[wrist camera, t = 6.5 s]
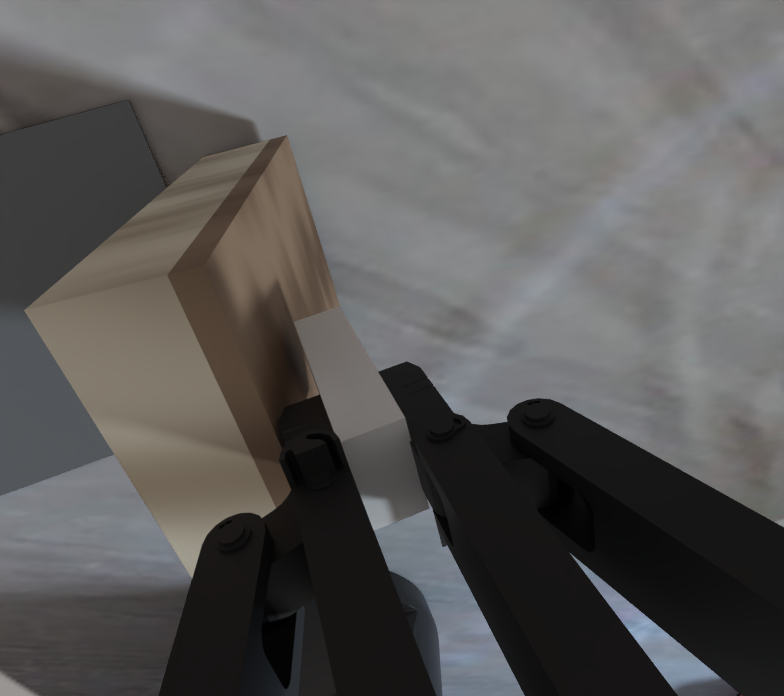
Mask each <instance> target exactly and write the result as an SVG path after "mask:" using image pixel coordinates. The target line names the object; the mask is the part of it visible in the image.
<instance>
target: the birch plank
mask: <svg viewBox="0 0 784 696" xmlns="http://www.w3.org/2000/svg"><path fill="white" fill-rule="evenodd" d="M339 306H340V304H339V301H338V298H337V295H336V291H335V288H334V285H333V282H332V279H331V275H330V272H329V269H328V266H327V263H326V259H325V256H324V253H323V250H322V246H321V243H320V240H319V237H318V234H317V230H316V227H315V224H314V221H313V217H312V214H311V211H310V208H309V205H308V201H307V198H306V195H305V192H304V189H303V185H302V182H301V179H300V176H299V172H298V169H297V166H296V163H295V160H294V156H293V153H292V150H291V147H290V143H289V140H288V137H287V135H286V136H282V137H278V138H275V139H271V140H267V141H263V142H259V143H255V144H251V145H248V146H244V147H240V148H236V149H232V150H228V151H224V152H221V153H217V154H213V155H209V156H205V157H202V158H201V159H200V160H199V161H198V162H196V163H195V164H194V165H193V166H192V167H191V168H189V169H188V170H187V171H186V172H185V173H184V174H182V175H181V176H180V177H179V178H178V179H177V180H175V181H174V182H173V183H172V184H171V185H170V186H168V187H167V188H166V189H165V190H164V191H163V192H161V193H160V194H159V195H158V196H157V197H156V198H154V199H153V200H152V201H151V202H150V203H149V204H147V205H146V206H145V207H144V208H143V209H142V210H140V211H139V212H138V213H137V214H136V215H135V216H133V217H132V218H131V219H130V220H129V221H128V222H126V223H125V224H124V225H123V226H122V227H121V228H119V229H118V230H117V231H116V232H115V233H114V234H112V235H111V236H110V237H109V238H108V239H107V240H105V241H104V242H103V243H102V244H101V245H100V246H98V247H97V248H96V249H95V250H94V251H93V252H91V253H90V254H89V255H88V256H87V257H86V258H84V259H83V260H82V261H81V262H80V263H79V264H77V265H76V266H75V267H74V268H73V269H72V270H70V271H69V272H68V273H67V274H66V275H65V276H63V277H62V278H61V279H60V280H59V281H58V282H56V283H55V284H54V285H53V286H52V287H51V288H49V289H48V290H47V291H46V292H45V293H44V294H42V295H41V296H40V297H39V298H38V299H37V300H35V301H34V302H33V303H32V304H31V305H30V306H28V307H27V308H26V309H25V310H24V311H25V313H26V314H27V316H28V317H29V319H30V321H31V322H32V324H33V325H34V327H35V329H36V330H37V332H38V333H39V335H40V337H41V338H42V340H43V341H44V343H45V345H46V346H47V348H48V349H49V351H50V353H51V354H52V356H53V357H54V359H55V360H56V362H57V364H58V365H59V367H60V368H61V370H62V372H63V373H64V375H65V376H66V378H67V380H68V381H69V383H70V384H71V386H72V388H73V389H74V391H75V392H76V394H77V396H78V397H79V399H80V400H81V402H82V404H83V405H84V407H85V408H86V410H87V412H88V413H89V415H90V416H91V418H92V420H93V421H94V423H95V424H96V426H97V428H98V429H99V431H100V432H101V434H102V436H103V437H104V439H105V440H106V442H107V444H108V445H109V447H110V448H111V450H112V452H113V453H114V455H115V456H116V458H117V460H118V461H119V463H120V464H121V466H122V468H123V469H124V471H125V472H126V474H127V476H128V477H129V479H130V480H131V482H132V484H133V485H134V487H135V488H136V490H137V491H138V493H139V495H140V496H141V498H142V499H143V501H144V503H145V504H146V506H147V507H148V509H149V511H150V512H151V514H152V515H153V517H154V519H155V520H156V522H157V523H158V525H159V527H160V528H161V530H162V531H163V533H164V535H165V536H166V538H167V539H168V541H169V543H170V544H171V546H172V547H173V549H174V551H175V552H176V554H177V555H178V557H179V559H180V560H181V562H182V563H183V565H184V567H185V568H186V570H187V571H188V573H189V575H190V576H191V578H193V574H194V571H195V567H196V564H197V560H198V557H199V553H200V550H201V546H202V544H203V542H204V540H205V538H206V536H207V534H208V533H209V532H210V531H211V530H212V529H213V528H214V527H215V525H217V524H218V523H220V522H221V521H223V520H224V519H226V518H227V517H230V516H233V515H236V514H239V513H250V512H251V513H254V514H257V515H259V516H260V517H261V518H263V517H264V516H266V515H267V514H269V513H270V512H272V511H273V510H274V509H276V508H277V507H278V506H279V505H281V504H282V502H283V501H284V500H285V499H286V498H287V496H288V495H289V493H290V491H291V488H290V486H289V483H288V481H287V479H286V476H285V474H284V471H283V469H282V467H281V464H280V462H279V458H280V452H281V451H282V449H283V448H284V446H285V442H284V438H283V433H282V430H281V425H280V421H279V420H280V417H281V415H282V412H283V410H284V407H286V406H289V405H292V404H295V403H297V402H300V401H303V400H306V399H308V398H311V397H314V396H317V395H319V393H318V390H317V387H316V384H315V381H314V378H313V376H312V373H311V370H310V367H309V364H308V361H307V358H306V356H305V353H304V350H303V347H302V344H301V341H300V339H299V336H298V333H297V330H296V327H295V324H294V322H295V321H298V320H301V319H304V318H307V317H310V316H313V315H316V314H319V313H321V312H324V311H327V310H330V309H333V308H336V307H339Z"/></svg>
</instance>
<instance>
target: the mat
mask: <svg viewBox="0 0 784 696" xmlns="http://www.w3.org/2000/svg"><path fill="white" fill-rule="evenodd" d="M166 188H167V187H166V185H165V182H164V180H163V178H162V175H161V173H160V171H159V168H158V166H157V164H156V162H155V159H154V157H153V155H152V152H151V150H150V148H149V145H148V143H147V141H146V138H145V136H144V134H143V131H142V129H141V127H140V124H139V122H138V120H137V117H136V115H135V113H134V111H133V108H132V106H131V104H130V101H129V100H126V101H122V102H119V103H115V104H112V105H108V106H104V107H101V108H97V109H93V110H90V111H86V112H82V113H79V114H75V115H71V116H68V117H64V118H60V119H57V120H53V121H50V122H46V123H42V124H39V125H35V126H31V127H28V128H24V129H20V130H17V131H13V132H9V133H6V134H2V135H0V496H1V495H4V494H6V493H9V492H12V491H15V490H17V489H20V488H23V487H26V486H28V485H31V484H34V483H37V482H39V481H42V480H45V479H48V478H50V477H53V476H56V475H58V474H61V473H64V472H67V471H69V470H72V469H75V468H78V467H80V466H83V465H86V464H89V463H91V462H94V461H97V460H100V459H102V458H105V457H108V456H111V455H113V454H114V453H113V452H112V450H111V448H110V447H109V445H108V444H107V442H106V440H105V439H104V437H103V436H102V434H101V432H100V431H99V429H98V428H97V426H96V424H95V423H94V421H93V420H92V418H91V416H90V415H89V413H88V412H87V410H86V408H85V407H84V405H83V404H82V402H81V400H80V399H79V397H78V396H77V394H76V392H75V391H74V389H73V388H72V386H71V384H70V383H69V381H68V380H67V378H66V376H65V375H64V373H63V372H62V370H61V368H60V367H59V365H58V364H57V362H56V360H55V359H54V357H53V356H52V354H51V353H50V351H49V349H48V348H47V346H46V345H45V343H44V341H43V340H42V338H41V337H40V335H39V333H38V332H37V330H36V329H35V327H34V325H33V324H32V322H31V321H30V319H29V317H28V316H27V314H26V313H25V311H24V310H25V309H26V308H27V307H28V306H30V305H31V304H32V303H33V302H34V301H35V300H37V299H38V298H39V297H40V296H41V295H42V294H44V293H45V292H46V291H47V290H48V289H49V288H51V287H52V286H53V285H54V284H55V283H56V282H58V281H59V280H60V279H61V278H62V277H63V276H65V275H66V274H67V273H68V272H69V271H70V270H72V269H73V268H74V267H75V266H76V265H77V264H79V263H80V262H81V261H82V260H83V259H84V258H86V257H87V256H88V255H89V254H90V253H91V252H93V251H94V250H95V249H96V248H97V247H98V246H100V245H101V244H102V243H103V242H104V241H105V240H107V239H108V238H109V237H110V236H111V235H112V234H114V233H115V232H116V231H117V230H118V229H119V228H121V227H122V226H123V225H124V224H125V223H126V222H128V221H129V220H130V219H131V218H132V217H133V216H135V215H136V214H137V213H138V212H139V211H140V210H142V209H143V208H144V207H145V206H146V205H147V204H149V203H150V202H151V201H152V200H153V199H154V198H156V197H157V196H158V195H159V194H160V193H161V192H163V191H164V190H165V189H166Z"/></svg>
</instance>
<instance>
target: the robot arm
mask: <svg viewBox="0 0 784 696" xmlns="http://www.w3.org/2000/svg"><path fill="white" fill-rule="evenodd" d="M294 324H295V327H296V330H297V333H298V336H299V339H300V341H301V344H302V347H303V350H304V353H305V356H306V358H307V361H308V364H309V367H310V370H311V373H312V376H313V378H314V381H315V384H316V387H317V390H318V393H319V395H317V396H314V397H311V398H308V399H306V400H303V401H300V402H297V403H295V404H292V405H289V406H286V407H284V410H283V412H282V415H281V417H280V420H279V421H280V425H281V430H282V433H283V438H284V442H285V446H284V448H283V449H282V451H281V452H280V458H279V462H280V464H281V467H282V469H283V471H284V474H285V476H286V479H287V481H288V483H289V486H290V488H291V491H290V493H289V495H288V496H287V498H286V499H285V500H284V501H283V502H282V504H281V505H279V506H278V507H277V508H276V509H274V510H273V511H272V512H270V513H269V514H267V515H266V516H264V517H263V518H261V517H260V516H259V515H257V514H254V513H251V512H250V513H239V514H236V515H233V516H230V517H227V518H226V519H224V520H223V521H221V522H220V523H218V524H217V525H215V527H214V528H213V529H212V530H211V531H210V532H209V533H208V534H207V536H206V538H205V540H204V542H203V544H202V546H201V550H200V553H199V557H198V560H197V564H196V567H195V571H194V574H193V578H192V581H191V585H190V588H189V592H188V595H187V599H186V602H185V606H184V609H183V612H182V616H181V619H180V623H179V626H178V630H177V633H176V637H175V640H174V644H173V647H172V651H171V654H170V658H169V661H168V665H167V668H166V672H165V675H164V678H163V682H162V685H161V689H160V692H159V696H442V683H441V668H440V653H439V639H438V632H437V628H436V624H435V621H434V619H433V616H432V614H431V612H430V609H429V607H428V605H427V602H426V600H425V598H424V596H423V594H422V593H421V591H420V590H419V589H418V588H417V587H416V586H415V585H414V584H413V583H411V582H410V581H409V580H407V579H405V578H403V577H401V576H399V575H397V574H394V573H391V572H389V570H388V567H387V564H386V562H385V559H384V556H383V554H382V551H381V549H380V546H379V543H378V541H377V538H376V535H375V533H374V531H375V530H377V529H380V528H382V527H385V526H387V525H390V524H392V523H395V522H397V521H400V520H402V519H404V518H407V517H409V516H412V515H414V514H417V513H419V512H422V511H424V510H427V509H429V505H428V502H427V499H428V501H429V503H430V504H431V506H432V508H433V512H434V516H435V520H436V524H437V527H438V531H439V535H440V539H441V543H442V546H443V547H444V546H447V545H448V547H449V549H450V551H451V553H452V555H453V557H454V559H455V561H456V563H457V565H458V567H459V569H460V571H461V573H462V574H463V576H464V578H465V580H466V582H467V584H468V586H469V588H470V590H471V592H472V594H473V596H474V598H475V600H476V602H477V604H478V606H479V607H480V609H481V611H482V613H483V615H484V617H485V619H486V621H487V623H488V625H489V627H490V629H491V631H492V633H493V635H494V637H495V639H496V641H497V642H498V644H499V646H500V648H501V650H502V652H503V654H504V656H505V658H506V660H507V662H508V664H509V666H510V668H511V670H512V672H513V674H514V675H515V677H516V679H517V681H518V683H519V685H520V687H521V689H522V691H523V693H524V695H525V696H678V695H677V694H676V693H675V691H674V690H673V689H672V687H671V686H670V685H669V684H668V682H667V681H666V680H665V678H664V677H663V676H662V674H661V673H660V672H659V670H658V669H657V668H656V666H655V665H654V664H653V662H652V661H651V660H650V658H649V657H648V656H647V654H646V653H645V652H644V651H643V649H642V648H641V647H640V645H639V644H638V643H637V641H636V640H635V639H634V637H633V636H632V635H631V633H630V632H629V631H628V629H627V628H626V627H625V625H624V624H623V623H622V622H621V620H620V619H619V618H618V616H617V615H616V614H615V612H614V611H613V610H612V608H611V607H610V606H609V604H608V603H607V602H606V600H605V599H604V598H603V596H602V595H601V594H600V593H599V591H598V590H597V589H596V587H595V586H594V585H593V583H592V582H591V581H590V579H589V578H588V577H587V575H586V574H585V573H584V571H583V570H582V569H581V567H580V566H579V565H578V563H577V562H576V561H575V560H574V558H573V557H572V556H571V554H572V555H573V556H574V557H576V558H577V559H578V560H579V561H581V562H582V563H583V564H584V565H585V566H587V567H588V568H589V569H590V570H591V571H593V572H594V573H595V574H596V575H597V576H599V577H600V578H601V579H602V580H604V581H605V582H606V583H607V584H608V585H610V586H611V587H612V588H613V589H614V590H616V591H617V592H618V593H619V594H620V595H622V596H623V597H624V598H625V599H626V600H628V601H629V602H630V603H631V604H633V605H634V606H635V607H636V608H637V609H639V610H640V611H641V612H642V613H643V614H645V615H646V616H647V617H648V618H649V619H651V620H652V621H653V622H654V623H656V624H657V625H658V626H659V627H660V628H662V629H663V630H664V631H665V632H666V633H668V634H669V635H670V636H671V637H672V638H674V639H675V640H676V641H677V642H678V643H680V644H681V645H682V646H683V647H685V648H686V649H687V650H688V651H689V652H691V653H692V654H693V655H694V656H695V657H697V658H698V659H699V660H700V661H701V662H703V663H704V664H705V665H706V666H708V667H709V668H710V669H711V670H712V671H714V672H715V673H716V674H717V675H718V676H720V677H721V678H722V679H723V680H724V681H726V682H727V683H728V684H729V685H731V686H732V687H733V688H734V689H735V690H737V691H738V692H739V693H740V694H741V695H743V696H784V527H782V526H780V525H778V524H777V523H775V522H773V521H771V520H769V519H768V518H766V517H764V516H762V515H760V514H759V513H757V512H755V511H753V510H751V509H750V508H748V507H746V506H744V505H742V504H741V503H739V502H737V501H735V500H733V499H732V498H730V497H728V496H726V495H724V494H723V493H721V492H719V491H717V490H715V489H714V488H712V487H710V486H708V485H707V484H705V483H703V482H701V481H699V480H698V479H696V478H694V477H692V476H690V475H689V474H687V473H685V472H683V471H681V470H680V469H678V468H676V467H674V466H672V465H671V464H669V463H667V462H665V461H663V460H662V459H660V458H658V457H656V456H654V455H653V454H651V453H649V452H647V451H645V450H644V449H642V448H640V447H638V446H636V445H635V444H633V443H631V442H629V441H627V440H626V439H624V438H622V437H620V436H618V435H617V434H615V433H613V432H611V431H610V430H608V429H606V428H604V427H602V426H601V425H599V424H597V423H595V422H593V421H592V420H590V419H588V418H586V417H584V416H583V415H581V414H579V413H577V412H575V411H574V410H572V409H570V408H568V407H566V406H565V405H563V404H561V403H559V402H556V401H553V400H551V399H540V398H538V399H531V400H526V401H524V402H521V403H519V404H517V405H516V406H514V407H513V408H512V409H511V410H510V412H509V414H508V416H507V421H508V422H503V423H497V424H488V425H477V424H471V422H470V421H469V420H468V419H466V418H465V417H464V416H462V415H458V414H455V413H453V411H452V410H451V409H450V407H449V406H448V404H447V403H446V402H445V400H444V399H443V398H442V396H441V395H440V394H439V392H438V391H437V390H436V388H435V387H434V386H433V384H432V383H431V381H430V380H429V379H428V378H427V376H426V375H425V373H424V372H423V371H422V369H421V368H420V367H418V366H416V365H414V364H411V363H409V362H404V363H401V364H399V365H396V366H393V367H390V368H387V369H385V370H382V371H379V372H378V371H377V369H376V367H375V366H374V364H373V362H372V361H371V359H370V357H369V355H368V354H367V352H366V350H365V349H364V347H363V345H362V344H361V342H360V340H359V338H358V337H357V335H356V333H355V332H354V330H353V328H352V326H351V325H350V323H349V321H348V320H347V318H346V316H345V315H344V313H343V311H342V309H341V308H340V306H339V307H336V308H333V309H330V310H327V311H324V312H321V313H319V314H316V315H313V316H310V317H307V318H304V319H301V320H298V321H295V322H294ZM426 497H427V498H426ZM569 552H570V553H571V554H570V553H569Z"/></svg>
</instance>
